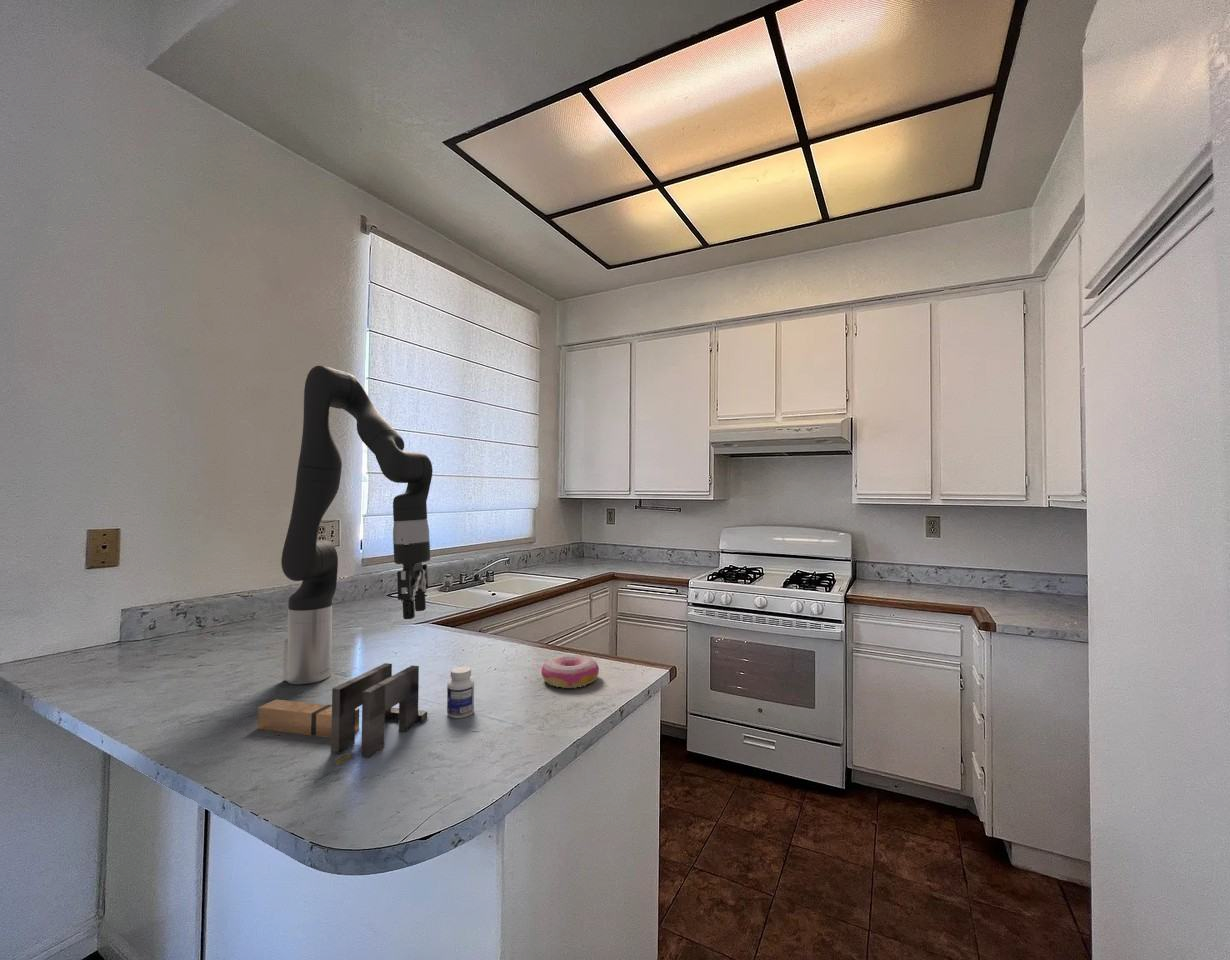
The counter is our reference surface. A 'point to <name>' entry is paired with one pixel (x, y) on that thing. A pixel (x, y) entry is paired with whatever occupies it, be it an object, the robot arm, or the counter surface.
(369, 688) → the dark two-tier wooden rack
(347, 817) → the counter surface
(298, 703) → the tall wooden block
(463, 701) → the pill bottle
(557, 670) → the donut
